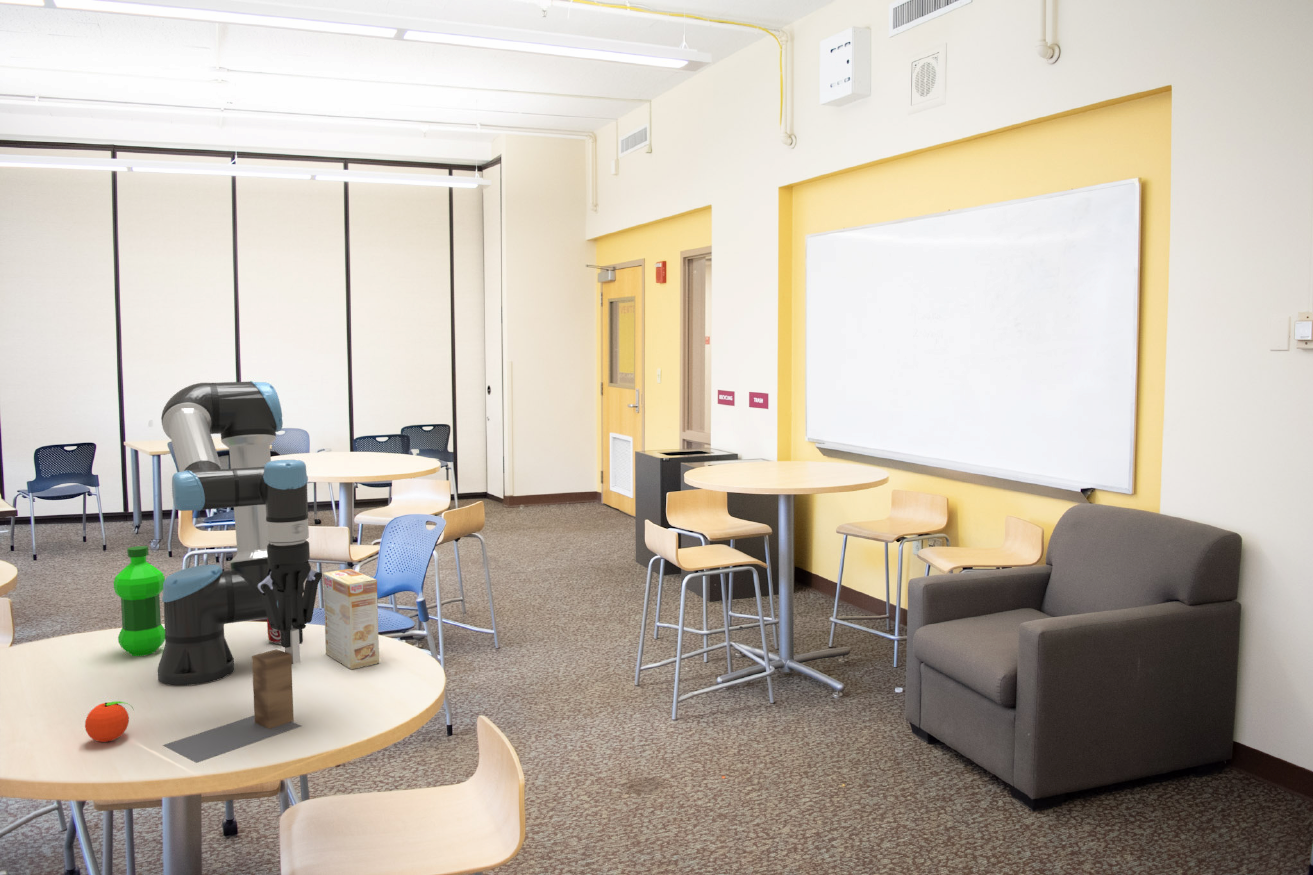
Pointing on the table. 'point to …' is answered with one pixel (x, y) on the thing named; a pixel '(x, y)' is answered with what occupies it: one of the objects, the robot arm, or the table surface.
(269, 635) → the soda can
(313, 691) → the table surface
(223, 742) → the mat
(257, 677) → the block
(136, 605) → the plastic bottle
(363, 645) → the coffeecake box
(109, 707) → the clementine
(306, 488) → the robot arm
